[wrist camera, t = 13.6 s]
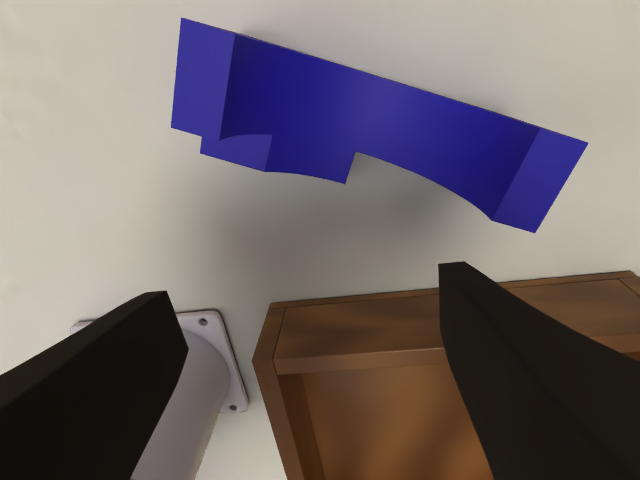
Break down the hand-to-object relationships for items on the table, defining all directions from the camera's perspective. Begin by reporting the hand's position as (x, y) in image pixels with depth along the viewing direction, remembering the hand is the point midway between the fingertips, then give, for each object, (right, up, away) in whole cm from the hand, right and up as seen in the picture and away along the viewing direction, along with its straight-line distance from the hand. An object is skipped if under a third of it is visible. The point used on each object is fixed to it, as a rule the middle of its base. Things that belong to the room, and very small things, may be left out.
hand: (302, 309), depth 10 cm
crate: (+8, -9, +14) cm, 19 cm away
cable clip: (+2, +7, +7) cm, 10 cm away
